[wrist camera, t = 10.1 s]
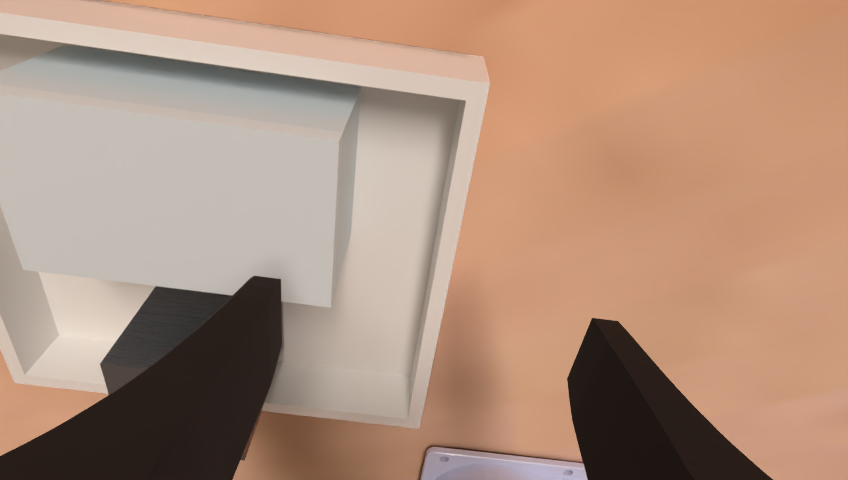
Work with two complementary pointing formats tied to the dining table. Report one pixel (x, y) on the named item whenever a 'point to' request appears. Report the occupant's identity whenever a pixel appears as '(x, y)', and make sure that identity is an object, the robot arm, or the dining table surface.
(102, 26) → the tote
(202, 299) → the metal block
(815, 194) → the dining table surface
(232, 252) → the plain white rectangular box
